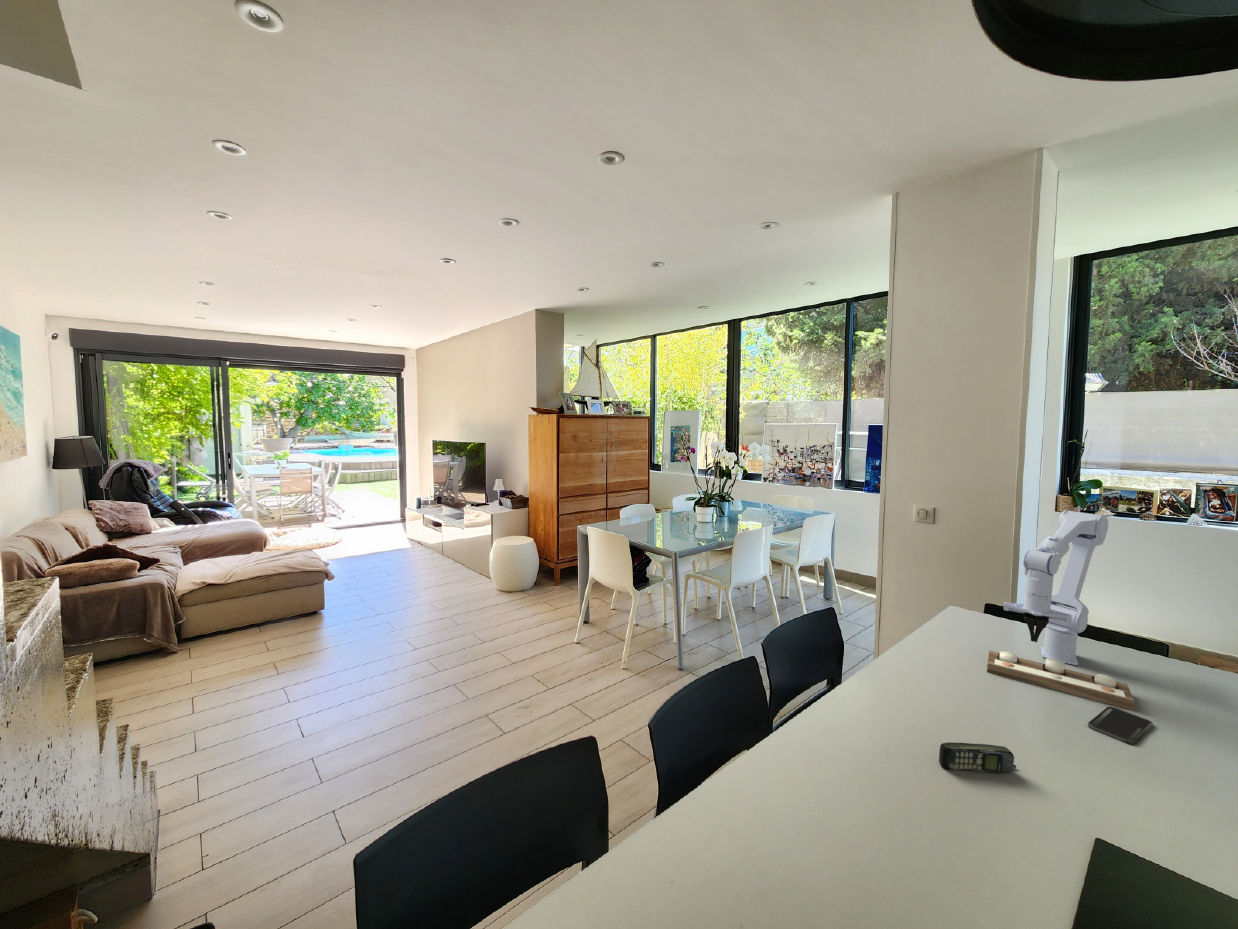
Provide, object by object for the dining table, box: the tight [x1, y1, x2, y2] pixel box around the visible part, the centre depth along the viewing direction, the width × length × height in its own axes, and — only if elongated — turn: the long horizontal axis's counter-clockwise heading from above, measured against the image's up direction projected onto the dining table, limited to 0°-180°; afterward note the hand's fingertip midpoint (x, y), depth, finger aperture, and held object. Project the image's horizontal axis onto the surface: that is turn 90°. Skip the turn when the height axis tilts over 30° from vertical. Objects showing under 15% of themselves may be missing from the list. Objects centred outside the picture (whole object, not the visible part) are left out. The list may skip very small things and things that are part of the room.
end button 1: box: [1094, 673, 1117, 689], centre depth 131 cm, size 4×4×2 cm
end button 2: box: [999, 650, 1019, 664], centre depth 144 cm, size 4×4×2 cm
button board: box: [986, 650, 1135, 711], centre depth 136 cm, size 10×29×2 cm, turn 52°
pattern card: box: [994, 659, 1125, 698], centre depth 134 cm, size 4×26×1 cm, turn 52°
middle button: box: [1044, 658, 1066, 674], centre depth 137 cm, size 4×4×2 cm
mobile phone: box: [938, 741, 1017, 774], centre depth 102 cm, size 5×3×15 cm
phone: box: [1087, 706, 1154, 746], centre depth 117 cm, size 8×1×15 cm
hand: (1033, 640), depth 142 cm, fingers closed
